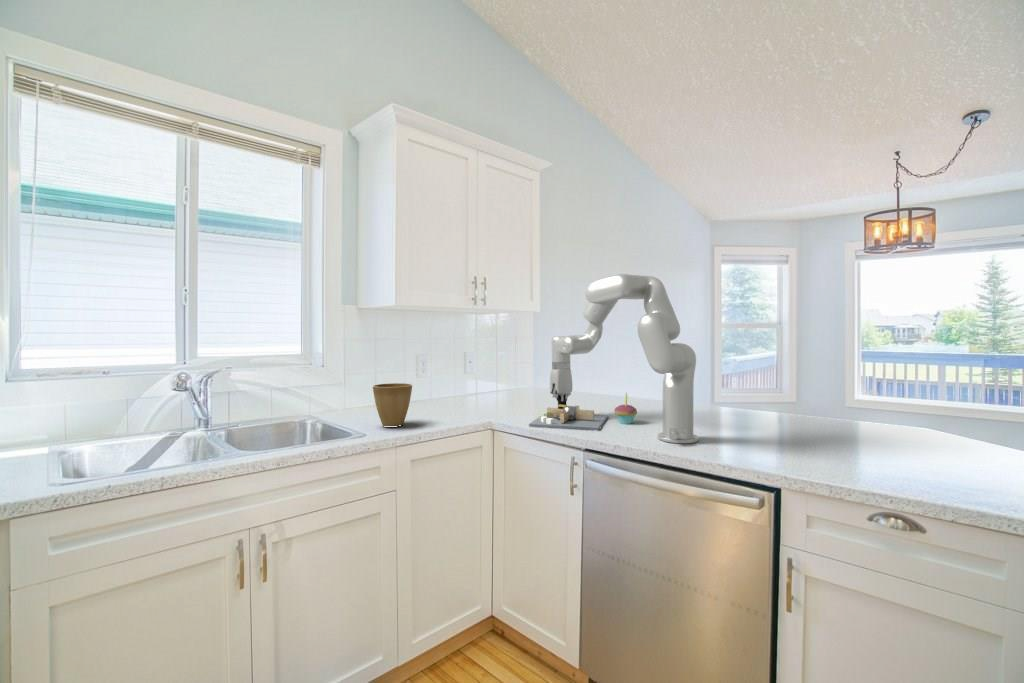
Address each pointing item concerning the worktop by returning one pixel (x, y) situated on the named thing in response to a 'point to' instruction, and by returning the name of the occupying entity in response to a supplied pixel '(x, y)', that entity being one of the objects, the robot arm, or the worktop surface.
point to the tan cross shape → (569, 413)
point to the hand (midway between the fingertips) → (562, 410)
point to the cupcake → (625, 412)
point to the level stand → (569, 422)
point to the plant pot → (392, 402)
